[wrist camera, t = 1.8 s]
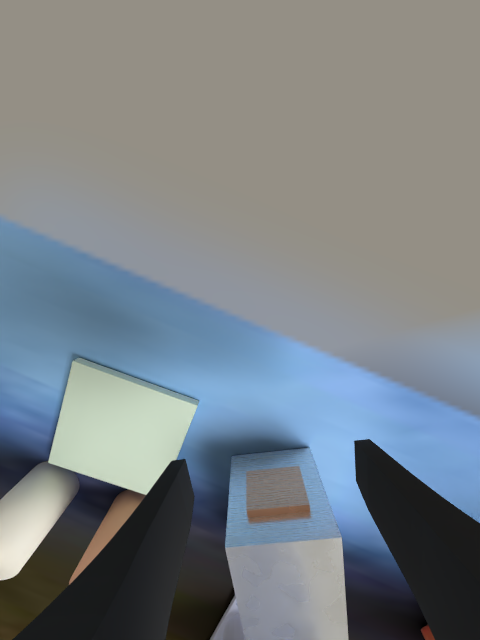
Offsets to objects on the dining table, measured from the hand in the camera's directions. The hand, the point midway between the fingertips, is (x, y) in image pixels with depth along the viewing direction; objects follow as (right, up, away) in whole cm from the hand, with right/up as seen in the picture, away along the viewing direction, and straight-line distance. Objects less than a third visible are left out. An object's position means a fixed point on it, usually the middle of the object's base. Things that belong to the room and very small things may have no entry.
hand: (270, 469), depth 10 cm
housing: (+2, -8, +9) cm, 12 cm away
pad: (-10, -2, +8) cm, 13 cm away
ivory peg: (-16, -7, +9) cm, 20 cm away
